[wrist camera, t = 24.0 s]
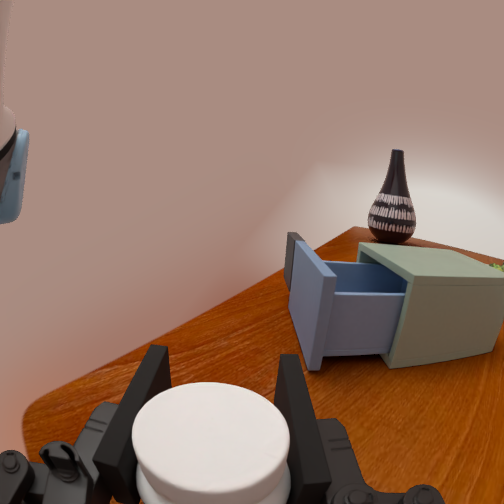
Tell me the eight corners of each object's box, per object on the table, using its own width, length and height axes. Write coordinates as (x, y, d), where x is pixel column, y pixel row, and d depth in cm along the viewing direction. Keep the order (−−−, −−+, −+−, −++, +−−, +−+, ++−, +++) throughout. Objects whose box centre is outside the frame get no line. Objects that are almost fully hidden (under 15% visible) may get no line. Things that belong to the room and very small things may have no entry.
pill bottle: (198, 481, 11) (186, 356, 9) (285, 515, 9) (325, 400, 7) (143, 539, 7) (78, 433, 5) (241, 587, 5) (259, 539, 3)
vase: (357, 236, 93) (365, 147, 86) (397, 239, 94) (405, 156, 87) (378, 247, 77) (387, 142, 71) (421, 250, 78) (431, 153, 71)
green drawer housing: (389, 369, 22) (414, 275, 20) (347, 311, 34) (358, 242, 32) (491, 351, 22) (515, 277, 20) (438, 309, 35) (451, 249, 33)
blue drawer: (306, 371, 22) (322, 275, 20) (282, 290, 39) (287, 231, 37) (444, 359, 22) (468, 279, 20) (376, 293, 40) (386, 239, 38)
